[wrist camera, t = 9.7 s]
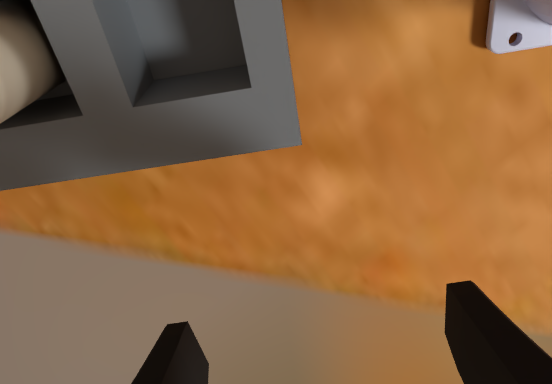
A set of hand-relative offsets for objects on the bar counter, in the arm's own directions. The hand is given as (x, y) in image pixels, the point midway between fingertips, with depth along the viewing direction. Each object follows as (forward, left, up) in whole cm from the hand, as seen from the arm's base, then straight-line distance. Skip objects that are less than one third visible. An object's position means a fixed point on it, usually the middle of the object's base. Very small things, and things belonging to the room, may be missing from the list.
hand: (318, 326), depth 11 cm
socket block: (+6, -7, -10) cm, 14 cm away
